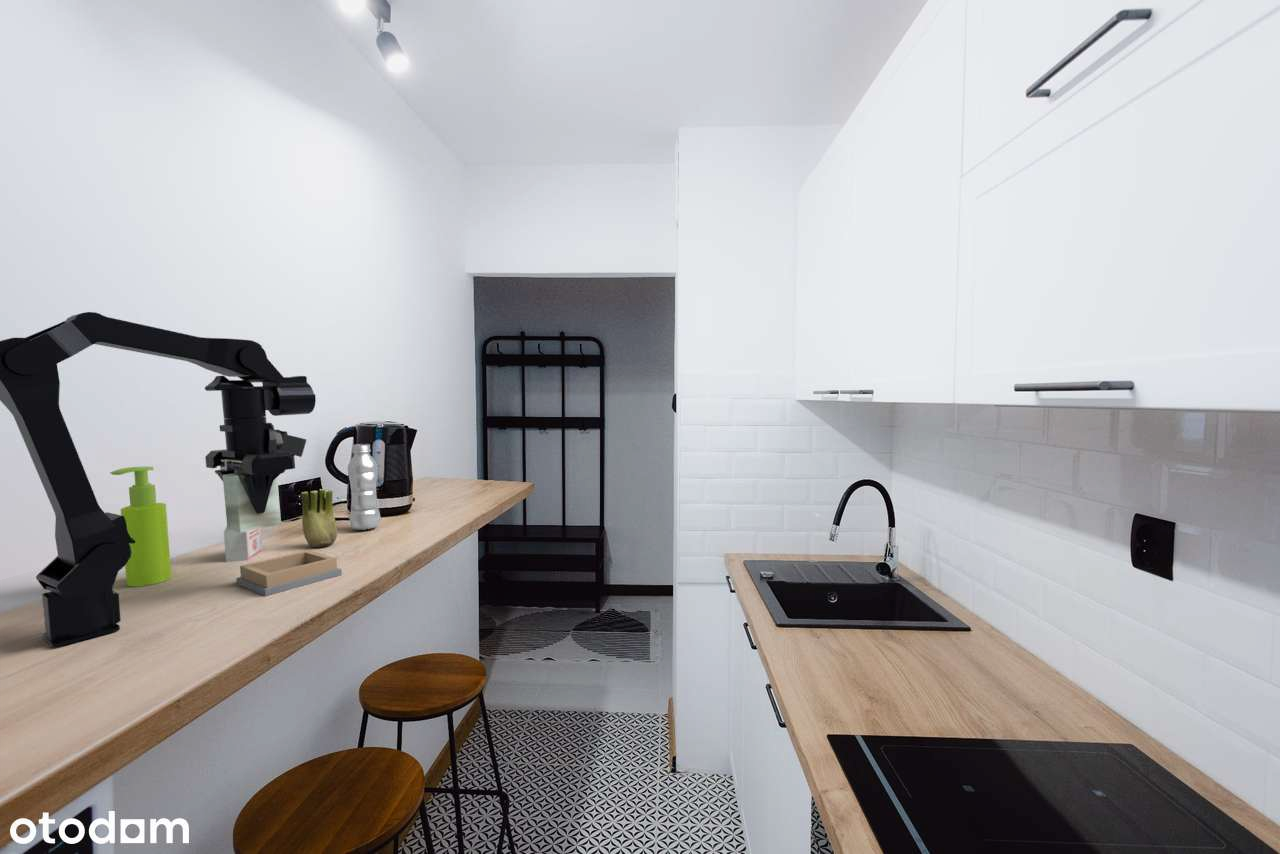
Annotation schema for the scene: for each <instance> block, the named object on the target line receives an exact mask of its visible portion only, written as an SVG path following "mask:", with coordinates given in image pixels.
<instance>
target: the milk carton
mask: <svg viewBox="0 0 1280 854" xmlns="http://www.w3.org/2000/svg"><path fill="white" fill-rule="evenodd" d="M223 536H224V537H223V539H224V552H225V562H226V563H230V562H243V561H249V560H250V559H252V558H253V557H254V556H257V555H258V554H259V553H261V552H262V551H263V547H262V546H263V545H262V534H261V528H260V529H255V530H251V531H246V532H241V533H240V532H237V531H233V530H230V529H227V525H226V527H225V529H224V530H223Z"/></svg>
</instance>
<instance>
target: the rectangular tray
mask: <svg viewBox="0 0 1280 854" xmlns="http://www.w3.org/2000/svg"><path fill="white" fill-rule="evenodd" d="M239 570H240V577H236V579H235V580H236V581H235V582H236V585H238V586H241V587H244V588H246V589H248V590H250V591H253V592H254V593H257V594H261V595H262V596H265V597H267V596H269V595H270V596H271V595H274V594H277V593H280V592H281V593H282V592H285V591H289V590H291V589H295V588H299V587H304V586H307V585H310V584H315V583H317V582H321V581H324V580H328V579H332V578H335V577H339V576H342V569H341V568H339V567H338V565H337V557H333V556H330V555H326V554H322V553H320V552H315V551H312V550H309V549H308V550H304V551H300V552H295V553H291V554H286V555H283V556H277V557H274V558H269V559H266V560H265V559H264V560H259V561H256V562H251V563H247V564H244V565H240V566H239Z"/></svg>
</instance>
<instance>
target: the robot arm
mask: <svg viewBox="0 0 1280 854" xmlns="http://www.w3.org/2000/svg"><path fill="white" fill-rule="evenodd" d="M93 345H98V346H104V347H109V348H114V349H118V350H125V351H130V352H134V353H140V354H146V355H152V356H156V357H162V358H168V359H173V360H179V361H184V362H188V363H191V364H194V365H196V366H198V367H200V368H203V369H205V370H208V371H211V372H213V373H216V374H219V375H217V376H215V377H214V379H213V380H212V381H211V382H210V383H208V384H207V385H206V386H204V390H205V391H206V392H214V391H215V392H217V391H220V392H221V402H222V403H221V404H222V412H223V413H222V414H223V424H219V432H224V437H225V448H226V449H218V450H217V449H216V450H215V449H214V450H210V451H209V452H208V453H207V454H206V455H205V458H204V459H205V468H209V469H216V468H218V467H219V469H216V470H214V473H215V474H216V475H217V476H218V477H219V478H220V480H221V482H223V475H225V474H233V473H235V472H234V470H237V469H243V470H244V472H245V473H242V474H238V477H239V479H240V481H241V483H242V485H243V487H244V489H245V491H246V493H247V496H248V498H249V500H250V502H251V504H252V506H253V508H254V510H255V511H256V513H257V514H260V513H264V512H265V509H266V505H267V501H268V498H269V494H270V490H271V487H272V484H273V481H274V480H275V479H276V478H277V479H278V477H279V476H280V475H281V474H284V473H285V472H286V471H287V470H293V469H296V461H295V457H296V456H297V457H299V458H301V457H303V453H304V450H305V446H306V444H307V439H306V438H304V437H303V438H302V437H297V436H295V435H294V436H293V435H289V434H288V431H286V430H285V431H283V430H280V429H275V425H274V424H273V423H272V422H268V421H267V413H266V411H268V412H269V414H271V415H272V416H274V417H277V416H279V417H280V416H290V415H291V416H296V415H309V414H311V413H312V412H313V411H314V409H315V407H316V394H315V393H314V390H313V387H312V386H311V384H310V383H308V377H307V376H306V375H295V376H288V377H287V376H283V375H282V374H281V372H280V371H279V370H278V369H277V368H276V367H275V365H273V363H272V362H271V361H270V360H269V359H268V356H267V353H266V350H265V349H264V348H263V346H262V344H260V343H258V342H257V341H254V340H250V339H242V338H241V339H238V338H221V337H220V338H219V337H218V338H217V337H215V338H214V337H201V336H196V335H192V334H191V335H190V334H186V333H183V332H182V333H181V332H177V331H172V330H170V329H169V330H168V329H163V328H160V327H154V326H150V325H145V324H141V323H135V322H132V321H126V320H123V319H118V318H115V317H110V316H109V317H108V316H105V315H103V314H101V313H98V312H94V311H93V312H92V311H85V312H81V313H78V314H74V315H73V314H72V315H71V316H68V317H67V318H66V319H65V320H63V321H62V322H59V323H57V324H54V325H52V326H50V327H47V328H45V329H43V330H41V331H38V332H36V333H33V334H31V335H28V336H26V337H11V338H6V339H2V340H0V402H1V403H2V404H3V405H4V407H5V408H6V409H7V410H8V411H9V412H10V413H11V415H12V416H13V418H14V421H15V424H16V426H17V428H18V430H19V433H20V435H21V437H22V439H23V440H22V441H23V442H24V444H25V447H26V448H27V451H28V453H29V456H30V458H31V460H32V463H33V466H34V468H35V470H36V472H37V474H38V477H39V479H40V482H41V484H42V486H43V488H44V491H45V494H46V497H47V498H48V500H49V503H50V505H51V507H52V509H53V513H54V515H55V523H54V527H55V529H54V539H55V545H56V551H57V556H56V557H54V559H53V560H52V561H50V563H48V564H47V565H46V566H44V568H43V569H42V570H41V571H40V572H39V573H37V574H36V576H35V579H36V580H37V582H38V583H39V584H40V586H41V587H42V589H43V590H48V591H49V592H43V593H41V597H42V606H43V617H44V627H45V628H44V629H45V632H43V633H42V634H41V635H42V638H43V639H44V640H45V641H46V642H47V643H48V644H49V646H51V647H52V648H58V647H61V646H62V647H63V646H65V645H68V644H72V643H76V642H81V641H83V640H88V639H91V638H95V637H98V636H102V635H106V634H108V633H109V634H111V633H113V632H116V631H119V630H120V629H121V627H120V625H119V624H118V623H120V622H121V619H122V618H121V609H120V596H119V593H118V592H116V591H115V590H113V588H114V585H115V582H116V579H117V576H118V575H119V571H121V570H122V569H123V568H125V565H126V563H127V562H128V560H129V559H130V558H131V553H132V552H131V546H130V545H129V543H135V540H133V539H132V538H131V537H130V535H129V533H128V531H127V525H126V520H125V517H124V516H122V515H121V514H117V513H112V512H108V511H107V512H104V510H103V509H102V508H101V506H100V505H99V502H98V500H97V498H96V496H95V491H94V490H93V488H92V485H91V482H90V479H89V478H88V475H87V473H86V471H85V468H84V466H83V463H82V461H81V458H80V455H79V453H78V451H77V448H76V446H75V444H74V441H73V438H72V435H71V433H70V431H69V427H68V426H67V424H66V421H65V419H64V416H63V414H62V411H61V409H60V408H61V407H60V389H61V388H60V387H61V385H60V384H61V383H60V382H61V381H60V377H59V376H60V375H59V369H58V364H59V363H61V362H63V361H66V360H67V359H70V358H72V357H74V356H75V355H77V354H79V353H80V352H82V351H84V350H86V349H87V348H89V347H91V346H93ZM227 377H231V378H232V377H233V378H236V377H237V378H239V379H240V380H239V379H235V380H234V379H229V378H227ZM253 383H262V385H261V386H260V385H259V386H258V385H257V386H255V385H254V384H253Z"/></svg>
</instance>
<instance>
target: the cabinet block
mask: <svg viewBox="0 0 1280 854" xmlns="http://www.w3.org/2000/svg"><path fill="white" fill-rule="evenodd" d="M234 472H235V473H233V474H225V475H223V481H222V484H223V486H222V487H223V494H224V505H225V517H226V526H227V529H230V530H233V531H237V532H240V533H241V532H246V531H251V530H255V529H260V530H261V529H264V528H269V527H275V526H279V525H282V520H281V516H282V515H281V507H280V496H279V495H280V493H279V492H280V491H279V482H278V477H277V478H276V479H275V480H274V481H273V484H272V487H271V490H270V494H269V498H268V501H267V505H266V509H265V512H264V513H260V514H257V513H256V511H255V510H254V508H253V506H252V504H251V502H250V500H249V498H248V496H247V493H246V491H245V489H244V487H243V485H242V483H241V481H240V479H239V477H238V474H242V473H245V472H244V470H243V469H237V470H234Z"/></svg>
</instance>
